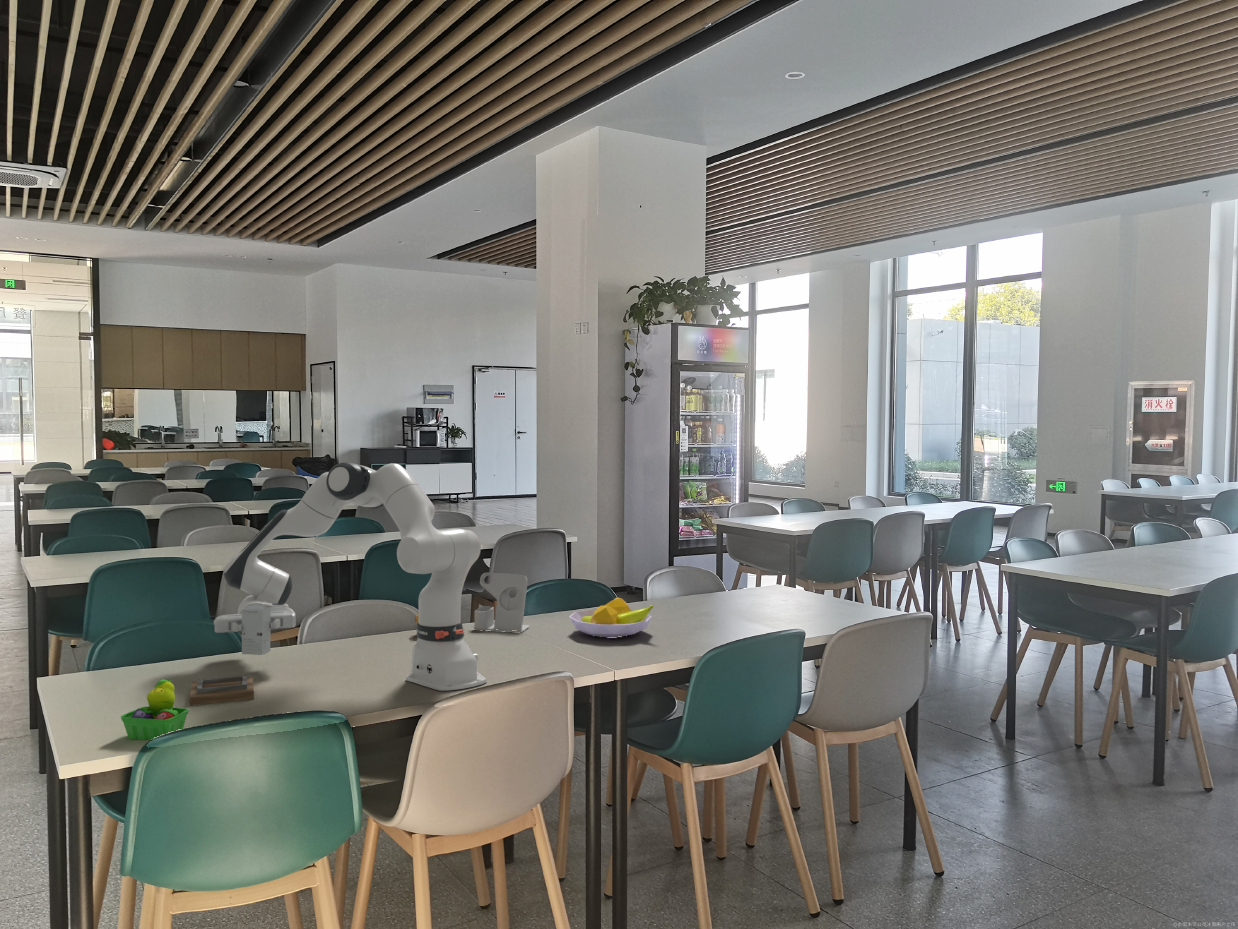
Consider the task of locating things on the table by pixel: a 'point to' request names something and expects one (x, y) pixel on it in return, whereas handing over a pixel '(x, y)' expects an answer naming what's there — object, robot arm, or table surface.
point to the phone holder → (503, 603)
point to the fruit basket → (155, 714)
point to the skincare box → (256, 630)
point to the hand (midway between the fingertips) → (256, 627)
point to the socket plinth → (222, 690)
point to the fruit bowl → (612, 619)
